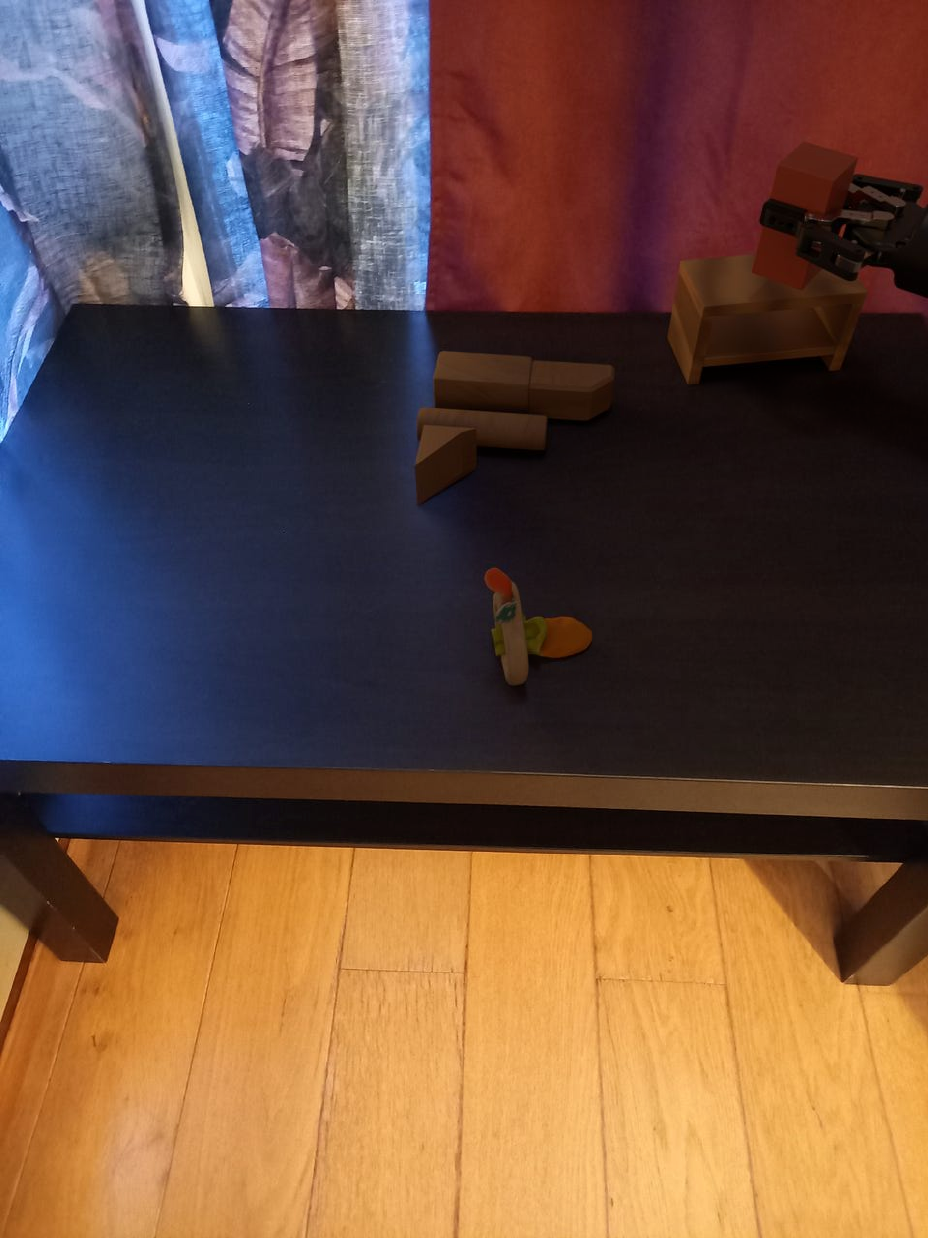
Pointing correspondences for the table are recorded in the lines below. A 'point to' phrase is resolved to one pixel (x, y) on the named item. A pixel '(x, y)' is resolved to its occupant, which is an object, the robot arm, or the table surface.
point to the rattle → (528, 631)
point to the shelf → (758, 316)
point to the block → (810, 185)
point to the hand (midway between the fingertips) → (778, 197)
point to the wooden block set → (499, 409)
